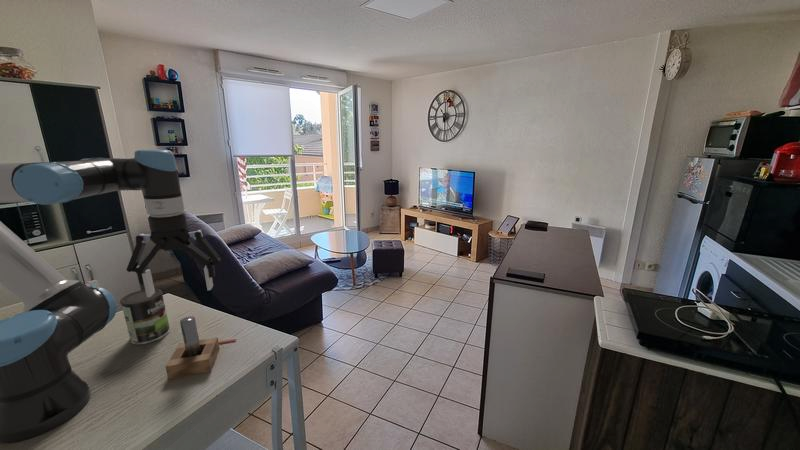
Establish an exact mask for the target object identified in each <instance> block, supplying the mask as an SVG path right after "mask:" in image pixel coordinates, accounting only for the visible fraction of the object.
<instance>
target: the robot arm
mask: <svg viewBox="0 0 800 450" xmlns="http://www.w3.org/2000/svg"><path fill="white" fill-rule="evenodd" d="M179 177H180V176H179V168H178V166H177V161H176V158H175V154H174V153H173V152H172V151H171V150H168V149H138V150H135V151H134V157H133V158H120V157H119V158H115V157H113V158H112V157H111V158H110V157H109V158H108V157H107V158H106V157H99V156H98V157H90V158H87V157H86V158H82V159H80V160H71V161H65V160H64V161H47V162H46V161H45V162H15V163H13V162H11V163H10V162H8V163H4V162H3V163H0V204H11V203H31V202H32V203H35V204H36V205H44V206H45V205H56V204H65V203H68V202H71V201H74V200H78V199H82V198H88V197H93V196H98V195H102V194H106V193H107V194H108V193H112V192H118V191H141V192H142V196H143V200H144V206H145V211H146V214H147V215H149V216H148V217H147V221H148V226H149V230H150V233H149V234H148V233H147V234H146V233H145V232H141V233H139V234H138V235H136V236H135V247H134V249H133V251H132V255H131V257H130V259H129V262H128V265H127V266H126V272H128V273H130V272H134V273H136V274H137V276H138V277H137V278H138V282H139V284H140V285H143V286H144V290H145V291H146V295H147V297H151V296H152V295H153V294H154V293H155V289H156V288H155V285H154V282H153V281H154V280H153V275H152V272H151V271H152V270H151V269H147V268H148V267H149V266H150V264H151V263H152V262H153V261H154V259H155V258H156V257H157V255H158V254H159V253H160V252H161V250H162V251H165V252H167V251H172V250H174V251H177V250H178V251H180V250H181V249H182V250H183V251H185V252H187V253H189V254H190V255H192V256H193V257H194V258H195V259H197V260H198V261H199V262H201V263H202V264H203V265H205V266H204V267H203V272H204V277H205V278H204V279H205V284H206V288H207V289H206V290H207V291H211V290H212V289H213V287H214V283H213V278H214V277H215V275H216V269H215V265H218V264H219V263H220V262H221V260H222V257H221V256H220V254H218V252H217V251H216V250H215V248H214V247H213V246H212V244H211V243H210V242H209V241H208V240H207V238H206V236H205V234H204V231H203V230H202V229H197V230H195V231H190V230H189V228H188V223H187V217H186V213H185V212H184V211H185V205H184V201H183V194H182V191H181V184H180V178H179ZM190 238H193V240H195V241H196V242H197V243H198V245H199V246H200V247H201V249H202V250H203V251H202V250H201V249H199V248H198V247H197V246H196V245H194V242H192V241H190V240H189V239H190ZM149 241H151V242H153V244H155V245H154V246H153V248H152V249H151V251H150V252H149V254H148V255H147V256H146V257H145V258H144V260H142V262H141V264H140V265H139V263H140V260H141V258H142V257H143V253H144V251H145V248H146V245H147V243H148V242H149ZM204 252H205V253H204ZM0 286H2V287H4V288H5V289H6V290H7V291H8V292H10V293H11V294H12V295H13V296H14V297H16V298H17V299H18V300H19V301H21V302H22V303H23V304H24V306H23V311H22V312H20V313H16V314H14V315H13V316H12V317H6V318H4V319H1V320H0V443H2V442H10V443H15V442H20V441H21V442H22V441H25V440H27V439H30V438H34V437H36V436H39V435H42V434H44V433H46V432H48V431H50V430H53V429H55V428H56V427H58V426H60V425H61V424H64V423H65V422H66V421H68V420H70V419H71V418H73V416H75V415H76V414H77V413H79V411H81V410H82V409H83V408H84V407H85V406H86V405H87V404H88V402H89V400H90V398H91V395H92V394H91V389H90V386H89V385H88V383H87V382H86V381H84V380H83V379H82V378H81V377H80V376H79V375H78V374H77V373H76V372H75V371H74V370H73V369H72V366H71V363H70V360H69V357H68V355H69V354H70V353H71V352H72V351H74V350H76V349H77V348H79V346H81V345H83V343H85V342H87V340H89V339H90V338H91V337H93V336H95V334H97V333H98V332H100V331H101V330H103V329H104V328H105V327H106V326H107V325H108V324H109V323H110V322H111V321H112V320H113V319H114V318H115V316H116V313H117V306H118V305H117V301H116V299H115V297H114V295H113V294H112V293H111V292H110V291H108V290H107V289H105V288H103V287H101V286H99V287H97V286H96V285H90V286H86V285H85V284H84V283H83V282H81V280H77V279H76V280H74V279H67V278H66V277H65V276H63V274H61V272H59V271H58V270H57V269H55V268H54V267H53V266H52V264H50V263H49V262H48V261H47V260H46V259H44V258H43V257H42V256H41V255H40V254H38V253H37V252H36V251H35V250H34V249H33V248H32V247H31V246H30V245H28V244H27V243H26V242H25V241H24V240H23V239H21V238H20V237H19V236H18V235H17V234H16V233H14V231H12V230H11V229H10V228H9V227H8V226H7V225H5V224H4V223H3V222H2V221H1V220H0Z"/></svg>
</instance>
